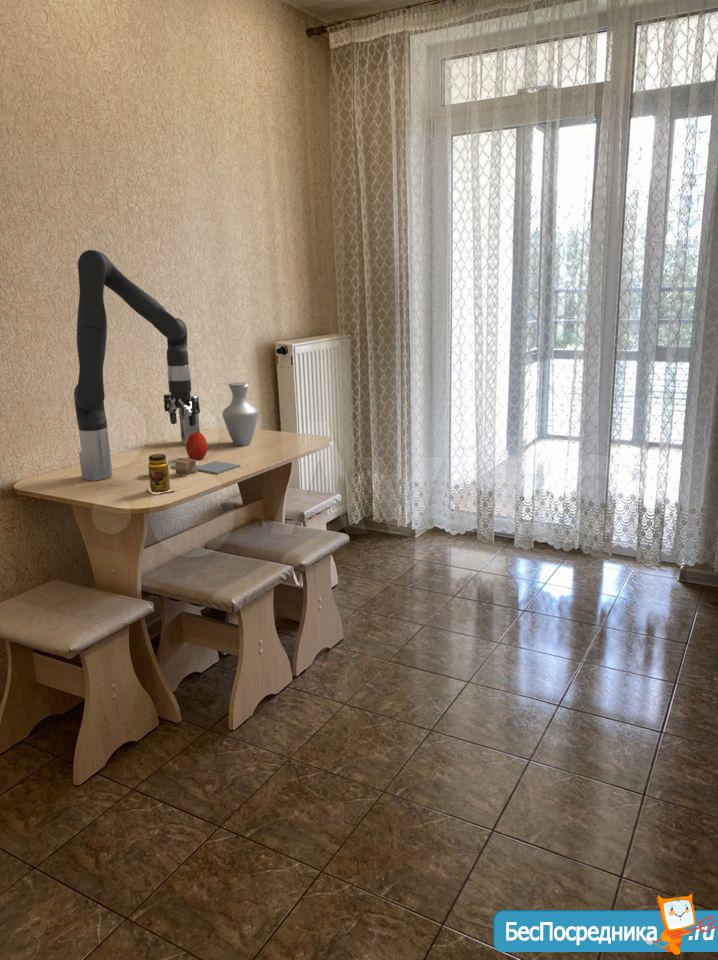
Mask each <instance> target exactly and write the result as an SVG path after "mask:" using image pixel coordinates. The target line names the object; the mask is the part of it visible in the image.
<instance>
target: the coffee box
mask: <svg viewBox="0 0 718 960" xmlns="http://www.w3.org/2000/svg"><path fill="white" fill-rule="evenodd" d="M188 407H189V406H188ZM190 411H191V410H190ZM178 414H179V425H180V438H181V443H182V444H183V445H185V446H186V443H187V440H188V438H189V436H190V434H191V433H195V432H200V433H201V431H200V416H199V414H200V413H198V414H196V415H195V418H196V424H195V426H192V427H191V426H189V414H188V413H187V411H185V410H184V408H178Z"/></svg>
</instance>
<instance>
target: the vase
mask: <svg viewBox="0 0 718 960" xmlns="http://www.w3.org/2000/svg"><path fill="white" fill-rule="evenodd" d="M249 386H250V382H242V381H241V382H240V381H239V382H237V381H236V382H231V383H230V382H229V383H228V387H229V389H230V391H231V395H232V398H231V399H232V400H231V402H230V404H229V405H228V406H227V407H225V408H223V411H222V418H223V420H224V423H225V427H226V429H227V432H228V434H229V437H230V439H231V441H232V443H233V445H234V446H238V447H244V446H249V445H251V443H252V440H253V437H254V434H255V431H256V426H257V423H258V420H259V410H258V409H257V407H255V406H254V405H252V404H251V403H250V402H249V400H248V397H247V393H248V388H249Z"/></svg>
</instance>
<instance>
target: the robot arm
mask: <svg viewBox="0 0 718 960" xmlns="http://www.w3.org/2000/svg"><path fill="white" fill-rule="evenodd" d="M77 273H78V286H79V288H78V289H79V297H78V298H79V299H78V307H77V321H76V346H77V347H76V348H77V349H76V350H77V357H78V364H79V368H78V370H79V372H78V380H77V381H78V383H77V384H76V386H75V387H74V391H73V398H74V399H73V400H74V406H75V407H74V409H75V413H76V414H75V416H76V421H77V426H78V428H77V429H78V434H79V442H80V443H79V444H80V451H79V452H78V456H79V464H80V473H81V479H83V480H87V481H93V482H94V481H99V480H100V481H101V480H105V479H110V478H113V476H114V475H113V467H112V458H111V448H110V439H109V431H108V429H109V428H108V421H107V416H106V412H105V410H106V409H105V403H104V401H105V396H106V395H105V386H104V362H105V357H106V349H107V348H106V347H107V337H108V336H107V334H108V333H107V332H108V331H107V330H108V320H107V313H106V308H105V302H104V290H105V287H107V288H108V289H110V290H111V291H112V292H114V293H115V294H116V295H117V296H118V297H120V298H121V299H122V301H124V302H125V303H126V304H127V305H128V306H129V307H130V308H131V309H132V310H133V311H134V312H136V313H137V314H138V315H140V316H141V317H142V318H143V319H144V320H146V321H147V322H149V323H150V324H151V325H152V326H153V327H154V328H155V329H156V330H157V331H158V332H159V333H161V334H162V335H163V336H164V337H165V338H166V342H167V349H166V361H167V362H166V365H167V373H166V374H167V382H168V383H167V384H168V392H169V393H165V394H163V406H164V408H163V409H164V411H165V412H168V414H169V421H170V424H171V425H176V424H178V419H177V417H178V416H177V410H178V409H179V408H184V410H185V411H187V413H188V414H189V426H191V427H192V426H195V424H196V418H195V415H196V414H198V413H199V414H200V413H201V409H200V401H199V396H198V395H196V396H192V395H191V392H192V379H191V378H192V377H191V369H190V364H189V354H188V353H189V352H188V328H187V325H186V323H185V321H184V320H182V319H181V318H178V317H175V316H173V315H172V314H170V313H169V311H167V310H166V309H165V307H164V306H163V305H162V304H161V303H160V302H159V301H158V300H156V299H155V298H153V297H152V296H151V295H150V294H148V293H147V292H145V291H144V290H143V289H141V288H140V287H139V286H138V285H136V284H135V283H133V282H132V281H131V280H130V279H129V278H127V277H126V276H125V275H124V274H123V273H122V272H121V271H120V270H119V269H118V268H117V266H115V265H114V263H113V262H112V261H111V260H110V259H109V258H108V256H107V255H105V253H103V252H100V251H98V250H95V249H87V250H85V251H84V252H82V253H81V254H80V256H79V258H78V260H77ZM188 406H189V407H188ZM190 410H191V411H190Z"/></svg>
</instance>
